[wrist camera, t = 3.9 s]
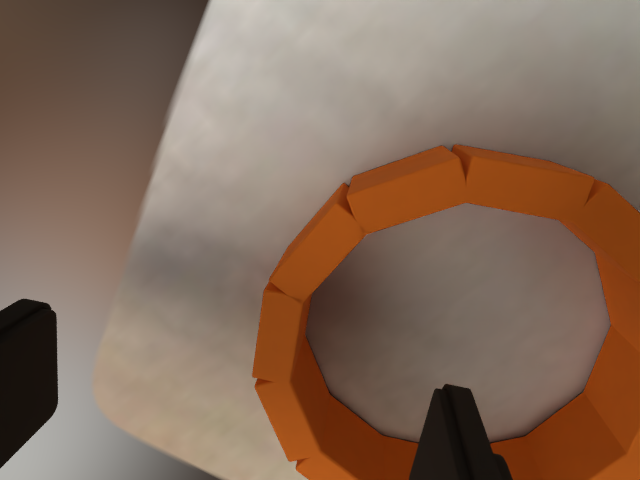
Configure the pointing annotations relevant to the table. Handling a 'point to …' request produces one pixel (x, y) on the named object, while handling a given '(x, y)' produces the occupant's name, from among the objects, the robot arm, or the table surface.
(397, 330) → the table surface
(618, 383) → the ring
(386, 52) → the table surface
